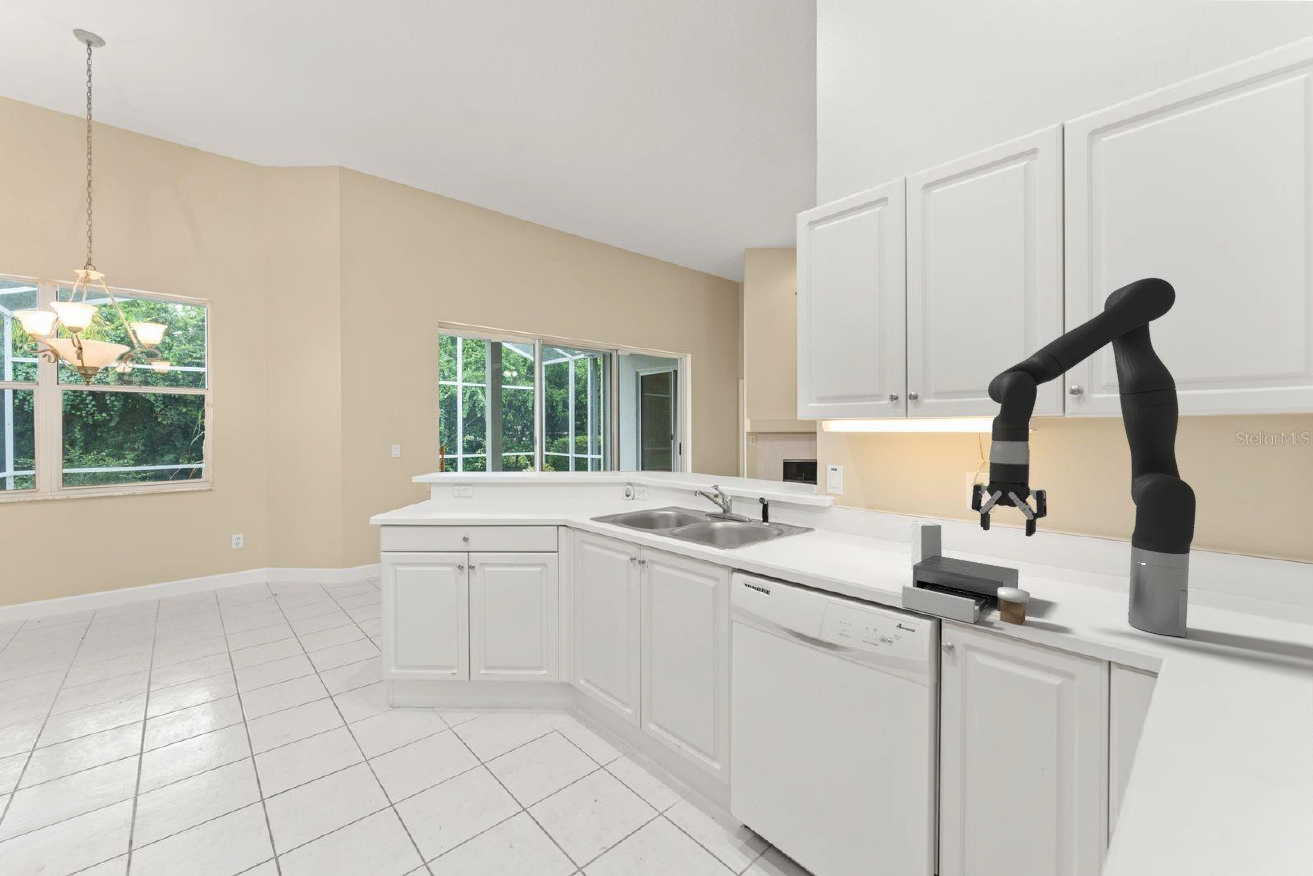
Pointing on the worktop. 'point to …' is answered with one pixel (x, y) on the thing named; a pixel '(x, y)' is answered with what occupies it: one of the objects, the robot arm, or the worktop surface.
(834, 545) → the worktop surface
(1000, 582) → the housing
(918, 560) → the skincare box
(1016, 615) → the wooden block
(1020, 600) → the white rounded flat dome
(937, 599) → the tray
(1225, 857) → the worktop surface
